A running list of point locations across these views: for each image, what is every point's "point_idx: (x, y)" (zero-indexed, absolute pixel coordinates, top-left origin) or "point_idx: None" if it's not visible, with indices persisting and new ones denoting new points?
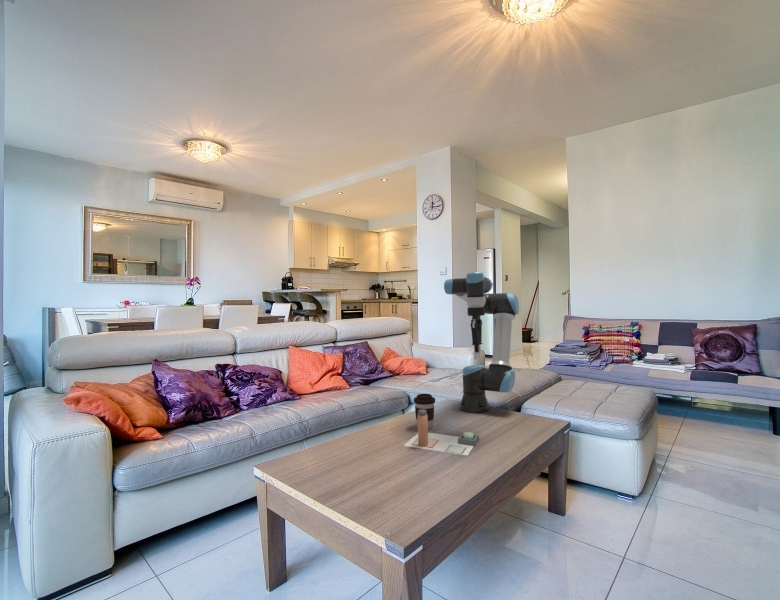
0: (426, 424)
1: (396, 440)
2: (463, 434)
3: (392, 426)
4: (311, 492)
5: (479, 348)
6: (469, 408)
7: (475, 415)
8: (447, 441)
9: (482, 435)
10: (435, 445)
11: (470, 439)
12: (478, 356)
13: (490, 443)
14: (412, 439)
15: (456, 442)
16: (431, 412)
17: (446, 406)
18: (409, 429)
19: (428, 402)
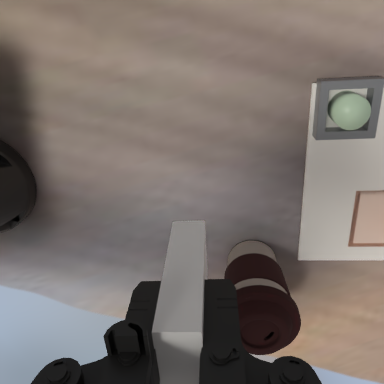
0: None
1: (378, 287)
2: (353, 128)
3: None
4: None
5: (203, 302)
6: (29, 191)
7: (58, 159)
8: (359, 167)
9: (256, 82)
10: None
11: (374, 97)
12: (205, 252)
13: (328, 34)
14: (369, 255)
15: (361, 140)
16: (269, 270)
17: (20, 265)
18: None
19: (291, 300)
